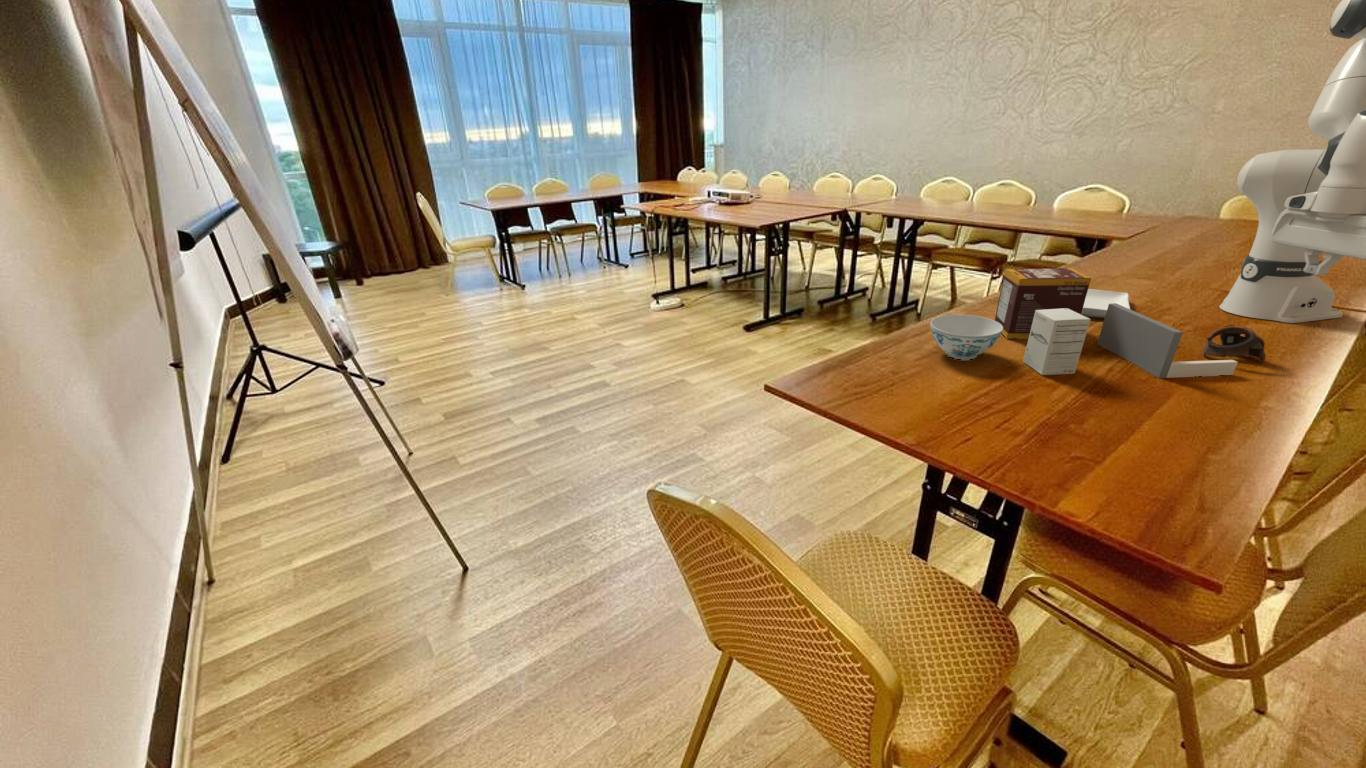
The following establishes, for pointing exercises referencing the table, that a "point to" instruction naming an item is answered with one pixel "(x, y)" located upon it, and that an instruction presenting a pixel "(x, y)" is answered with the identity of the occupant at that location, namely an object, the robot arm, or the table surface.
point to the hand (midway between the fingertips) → (1314, 273)
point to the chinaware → (965, 335)
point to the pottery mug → (1235, 343)
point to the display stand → (1153, 345)
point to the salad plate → (1102, 302)
